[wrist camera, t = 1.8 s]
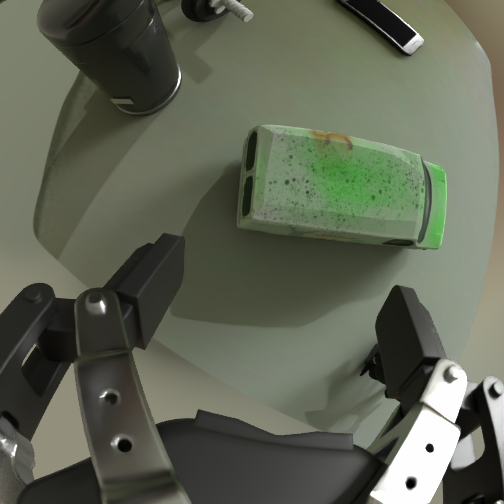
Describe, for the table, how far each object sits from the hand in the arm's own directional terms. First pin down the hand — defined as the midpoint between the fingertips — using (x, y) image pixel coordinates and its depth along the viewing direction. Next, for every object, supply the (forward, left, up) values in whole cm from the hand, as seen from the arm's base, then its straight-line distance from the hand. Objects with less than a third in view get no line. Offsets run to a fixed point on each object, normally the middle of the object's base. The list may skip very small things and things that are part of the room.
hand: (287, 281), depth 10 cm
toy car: (+4, +11, -23) cm, 26 cm away
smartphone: (-10, +40, -23) cm, 48 cm away
